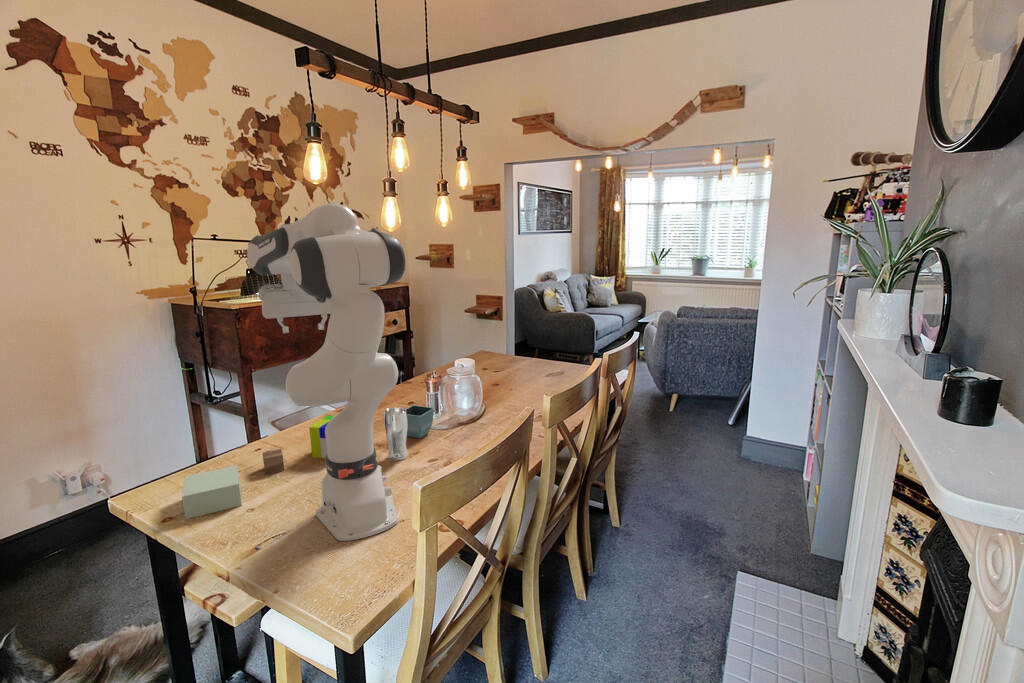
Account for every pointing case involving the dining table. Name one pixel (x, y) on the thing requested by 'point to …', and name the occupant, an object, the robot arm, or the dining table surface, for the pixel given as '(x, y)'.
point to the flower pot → (419, 420)
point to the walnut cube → (273, 461)
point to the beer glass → (396, 432)
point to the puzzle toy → (319, 437)
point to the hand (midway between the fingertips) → (303, 331)
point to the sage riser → (211, 491)
